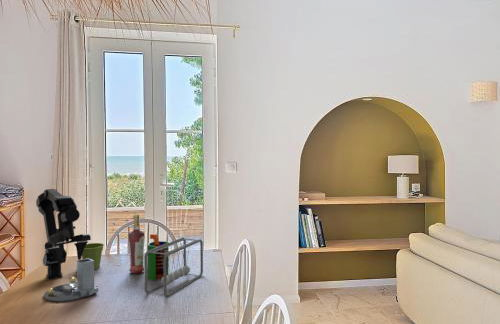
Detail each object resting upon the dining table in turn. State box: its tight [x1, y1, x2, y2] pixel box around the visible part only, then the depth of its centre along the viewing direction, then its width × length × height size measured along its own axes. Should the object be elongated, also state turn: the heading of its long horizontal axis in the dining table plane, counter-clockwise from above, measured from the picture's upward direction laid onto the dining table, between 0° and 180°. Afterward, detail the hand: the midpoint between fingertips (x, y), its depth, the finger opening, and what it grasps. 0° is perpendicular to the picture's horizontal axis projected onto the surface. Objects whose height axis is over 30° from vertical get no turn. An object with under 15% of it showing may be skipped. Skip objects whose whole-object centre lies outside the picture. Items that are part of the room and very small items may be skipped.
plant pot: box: [81, 242, 105, 270], centre depth 189 cm, size 12×12×11 cm
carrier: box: [43, 276, 90, 303], centre depth 156 cm, size 19×19×4 cm
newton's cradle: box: [143, 237, 204, 298], centre depth 165 cm, size 30×10×18 cm, turn 157°
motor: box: [147, 233, 170, 282], centre depth 175 cm, size 10×9×20 cm
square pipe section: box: [74, 258, 99, 297], centre depth 154 cm, size 9×9×13 cm
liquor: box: [128, 213, 145, 275], centre depth 181 cm, size 7×7×28 cm
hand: (69, 261), depth 160 cm, fingers open, 9 cm apart
